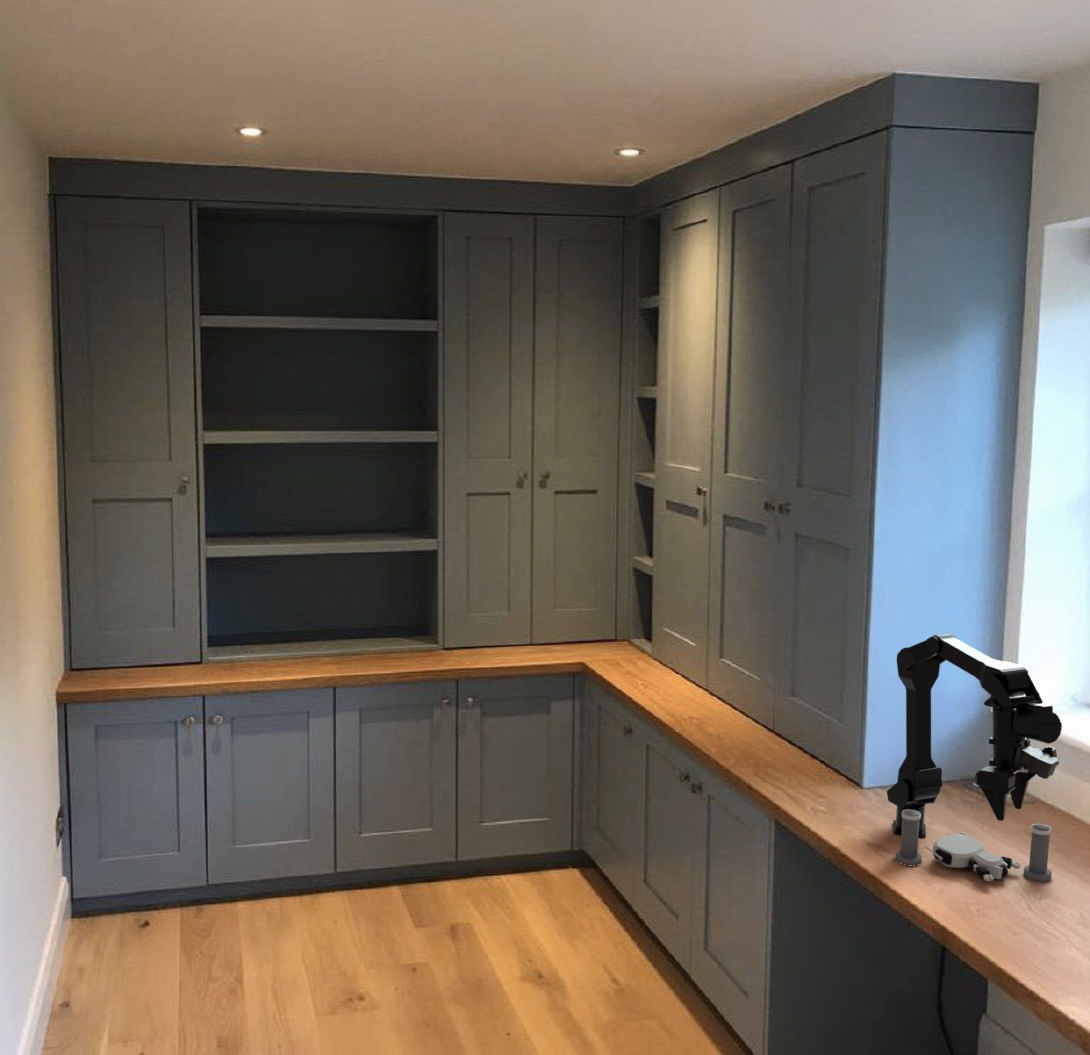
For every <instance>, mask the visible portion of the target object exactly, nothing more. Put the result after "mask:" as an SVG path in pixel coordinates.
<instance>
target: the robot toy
mask: <svg viewBox="0 0 1090 1055" xmlns="http://www.w3.org/2000/svg"><path fill="white" fill-rule="evenodd" d="M959 832H960V834H959V833H953V834H948V835H944V836H942V837H940V838H939V839H937V840H935V841H934V843H933V846H932V849H931V848H930V847H929V846H928V845H924V847H925V850H928V851H929V852H930V853H932V856H933V857H934V859H935V860H936V861H938V862H940V863H941V864H942V865H944V866H945V867H946V868H957V869H963V868H968V867H969V868H970V869H972V871H974V872H975V874H976V876H977V877H978V878H980V880H983V881H986V882H990V881H991V882H993V881H994V880H995V879H996V880H998V879H999V880H1001V879H1002V878H1005V877H1007V876H1008V874H1009V870H1011V868H1013V869H1017V870H1019V869H1020V868H1021V863H1020V862H1019V861H1013V858H1011V857H1006V856H1000V855H998V854H995V853H994V852H990V851H987V850H985V845H983V843H982V842H981V841H980V840H977V839H975V838H973V837H971V836H968V835H967V834H966V833H965V832H963V831H959ZM1008 869H1009V870H1008Z"/></svg>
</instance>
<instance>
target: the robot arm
mask: <svg viewBox="0 0 1090 1055" xmlns="http://www.w3.org/2000/svg"><path fill="white" fill-rule="evenodd" d="M945 662H949V663H951V664H952V665H954V666H956V667H957V668H959V669H960V670H962V671H964V672H965V673H966V674H969V675H970V676H973V677H974V678H975V679H976V680H978V681H979V684H980V687H981V688H982V689H983V690H984V691H985V692H987V694H989V695H990V696H989V698H987V699H986V700H985V701H984V702H983V705H984V706H986V707H989V708H991V710H992V711H991V712H992V737H989V738H988V744H989V745H992V758H991V759H989V761H988V765H989V766H985V767H983V768H981V769H980V770H978V771H977V772H976V773H975V774H974V780H975V781H974V783H975V785H976V786H978V788H979V789H980V790H981V791H982V793H983V795H984V796H985V798H986V800H987V802H988V804H989V806H990V808H991V810H992V812H993V814H994V816H995V817H996V818H995V819H996V820H997V821H999V822H1003V821H1005V816H1006V811H1007V810H1006V809H1007V803H1008V795H1009V794H1010V797H1011V800H1012V804H1013V806H1014V809H1016V810H1021V809H1023V804H1024V800H1025V797H1026V793H1027V790H1028V787H1029V783H1030V781H1031V780H1032V779H1034V778H1035V777H1036V776H1037V777H1039V778H1040V779H1044V780H1045V779H1046V780H1047V779H1049V778H1050V777H1051V776H1053V775H1054V773H1055V770H1056V768H1057V766H1058V765H1059V764H1060V761H1059V759H1060V758H1059V757H1058V756H1057V748H1055V747H1053V746H1051V745H1047V746H1045V747H1044V748H1043V749H1042V750H1041V748H1035V747H1032V746H1031V740H1032V741H1036V742H1040V743H1044V744H1053V743H1055V742H1056V741H1057V740H1058V739H1059V738H1060V736H1061V733H1062V729H1063V723H1062V721H1061V719H1060V717H1059V716H1058V714H1057V713H1055V712H1054V711H1053V710H1054V709H1053V708H1054V707H1053V705H1050V704H1043V699H1042V697H1041V696H1040V693H1039V691H1038V690H1037V687H1036V686H1035V684H1034V682H1033V680H1032V678H1031V676H1030V675H1029V671H1028V670H1027V668H1025V667H1024V666H1022V665H1020V664H1017V663H1013V662H1010V661H1003V660H999V659H998V660H997V659H995V658H992V657H991V656H989V655H986V654H985V653H983V652H981V651H979V650H978V649H976V648H974V647H972V646H971V645H968V644H967V643H965V642H963V641H962V640H960V639H958V638H957V637H956V636H955V635H954V634H952V633H944V634H943V633H942V634H933V635H932V636H930V637H928V638H927V639H925V640H922V641H921V642H918V643H916V644H914V645H911V646H907V647H902V648H901V649H900V651H899V652H897V654H896V665H897V666H896V667H897V668H896V669H897V675H898V677H899V679H900V681H901V683H902V684H903V686H904V688H905V711H906V712H905V726H906V727H905V733H906V735H905V736H906V737H905V741H906V742H905V743H906V744H905V746H906V748H905V750H906V751H905V753H906V755H905V758H904V760H903V762H902V764H901V765H900V767H899V768H898V773H897V781H896V783H895V784H893V785H892V786H891V787H890V788H889V789H887V790H886V796H887V801H888V802H889V803H890V804H893V805H895V806H896V813H895V816H896V817H895V819H893V821H892V822H893V823H892V824H893V834H895V835H897V834H898V835H902V820H903V817H902V811H903V810H915V811H918V812H920V813H921V819H920V820H919V835H918V837H919V838H920V837H921V838H926V837H927V831H926V830H927V829H926V828H927V827H926V823H925V816H926V815H925V813H926V805H928V804H934V803H936V800H937V797H938V795H940V793H941V790H942V789H941V788H942V787H944V786H943V781H942V778H943V777H942V776H943V770H942V768H941V767H939V766H937V765H936V764H935V761H934V760H933V758H932V689H933V687H934V686H935V684H936V682H937V680H938V678H939V676H940V669H941V668H940V667H941V664H943V663H945Z"/></svg>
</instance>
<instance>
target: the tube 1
mask: <svg viewBox="0 0 1090 1055" xmlns="http://www.w3.org/2000/svg"><path fill="white" fill-rule="evenodd" d="M902 817H903V820H902V834H901V838H900V849H899V850H898V851H896V852H895V858H894V860H895V859H896V860H895V862H896V861H898V862H899V863H902V864H905V865H912V866H911V867H914V866H913V865H918V864H920V863H921V864H922V861H923V856H922V854H920V853H919V852H918V848H919V847H918V846H919V836H918V835H919V820H920V819H921V813H920V812H918V811H915V810H903V811H902ZM899 863H898V864H899ZM905 865H904V866H905Z"/></svg>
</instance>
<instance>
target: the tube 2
mask: <svg viewBox="0 0 1090 1055" xmlns="http://www.w3.org/2000/svg"><path fill="white" fill-rule="evenodd" d="M1030 830H1031V837H1030V839H1031V840H1030V851H1029V852H1030V854H1029V865H1025V866H1024V867H1023V876H1024V877H1025V878H1026V879H1027V880H1030V881H1032V882H1037V883H1048V882H1050V881H1052V870H1050V869H1049V868H1048V860H1049V849H1050V848H1049V847H1050V837H1051V834H1052V827H1051V826H1050V825H1046V824H1043V823H1034V824H1033V823H1032V824H1031V826H1030Z"/></svg>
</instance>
